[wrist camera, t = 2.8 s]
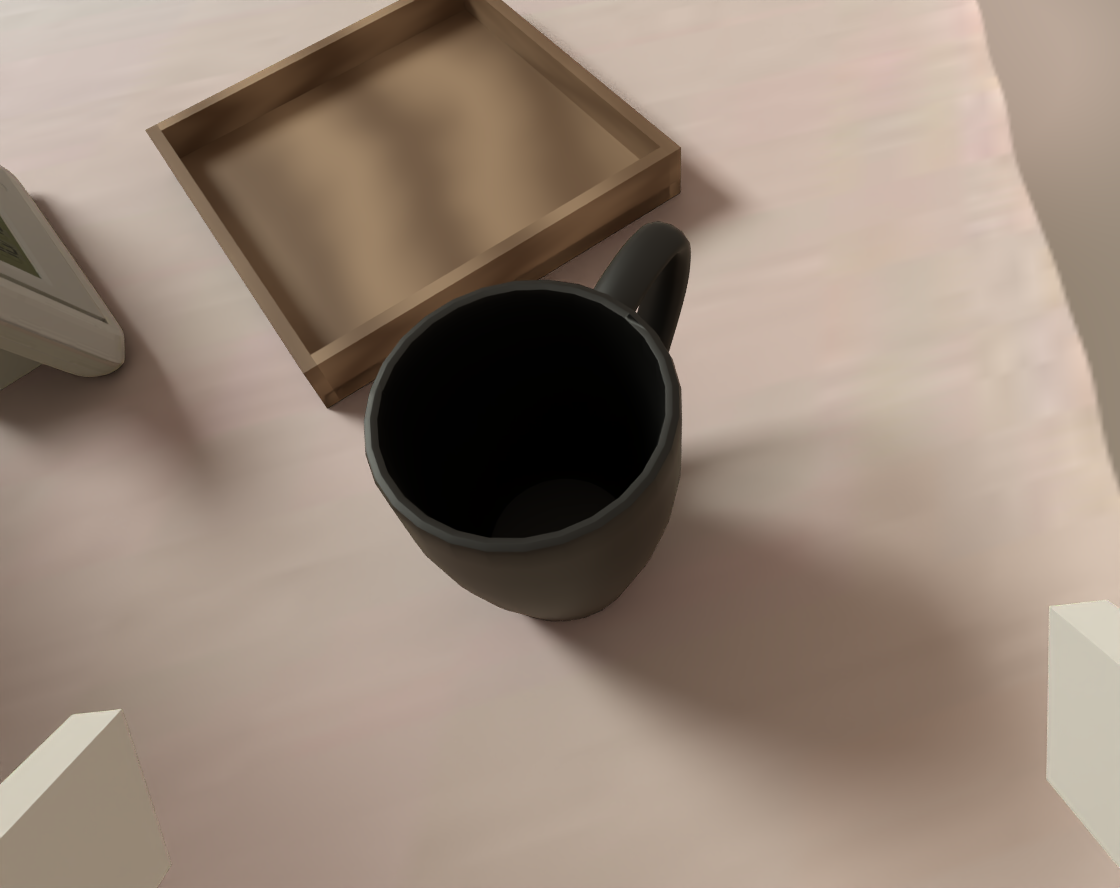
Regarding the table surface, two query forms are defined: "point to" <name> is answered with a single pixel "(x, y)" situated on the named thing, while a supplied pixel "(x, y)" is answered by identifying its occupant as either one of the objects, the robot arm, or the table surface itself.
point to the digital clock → (47, 298)
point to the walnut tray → (410, 175)
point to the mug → (539, 431)
